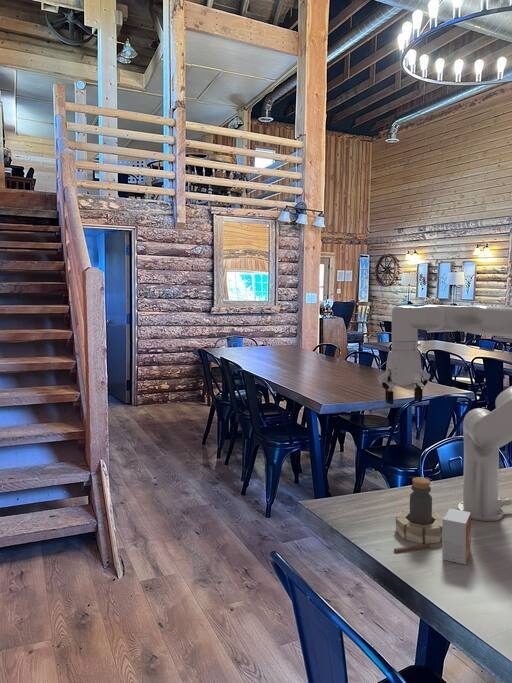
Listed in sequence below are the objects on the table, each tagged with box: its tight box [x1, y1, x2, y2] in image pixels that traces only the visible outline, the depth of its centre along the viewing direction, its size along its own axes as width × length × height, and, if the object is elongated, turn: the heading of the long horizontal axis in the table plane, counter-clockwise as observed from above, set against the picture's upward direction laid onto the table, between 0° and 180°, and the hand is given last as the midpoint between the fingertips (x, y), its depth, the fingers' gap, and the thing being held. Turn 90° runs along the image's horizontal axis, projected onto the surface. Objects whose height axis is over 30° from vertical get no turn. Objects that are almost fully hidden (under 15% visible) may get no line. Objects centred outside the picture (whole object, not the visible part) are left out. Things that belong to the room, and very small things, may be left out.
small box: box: [441, 507, 472, 566], centre depth 127 cm, size 8×6×10 cm
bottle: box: [409, 476, 433, 525], centre depth 139 cm, size 6×6×15 cm
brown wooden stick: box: [393, 543, 432, 554], centre depth 130 cm, size 10×1×1 cm, turn 102°
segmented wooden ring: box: [395, 508, 444, 545], centre depth 140 cm, size 12×12×4 cm
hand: (404, 402), depth 153 cm, fingers open, 9 cm apart
